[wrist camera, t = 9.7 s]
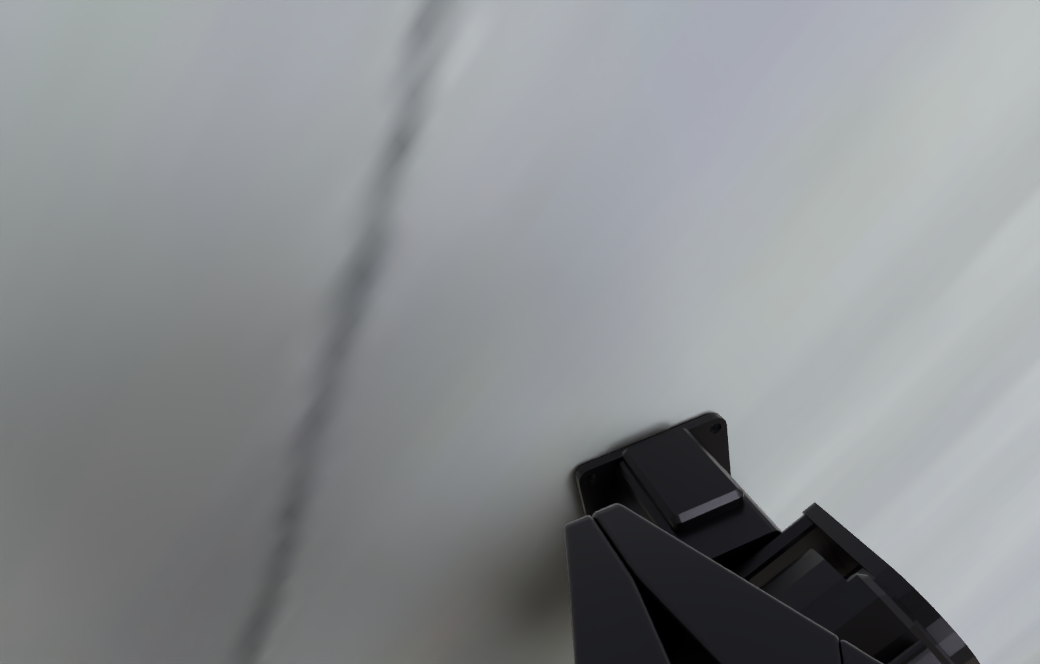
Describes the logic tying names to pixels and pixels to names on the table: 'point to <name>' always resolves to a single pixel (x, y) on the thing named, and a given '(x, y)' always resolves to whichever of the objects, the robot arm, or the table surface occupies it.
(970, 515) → the table surface
